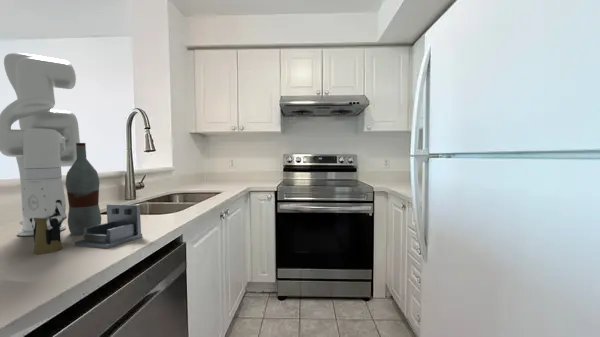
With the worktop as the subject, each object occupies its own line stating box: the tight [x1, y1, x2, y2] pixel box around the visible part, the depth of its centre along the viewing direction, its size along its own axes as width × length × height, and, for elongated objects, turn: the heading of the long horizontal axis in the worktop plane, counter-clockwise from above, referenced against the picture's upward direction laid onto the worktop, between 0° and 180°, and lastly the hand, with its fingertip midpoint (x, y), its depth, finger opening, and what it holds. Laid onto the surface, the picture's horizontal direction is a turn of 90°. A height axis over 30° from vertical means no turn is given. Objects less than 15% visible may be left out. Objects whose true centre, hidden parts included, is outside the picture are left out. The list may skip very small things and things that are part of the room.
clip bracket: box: [74, 203, 143, 249], centre depth 89 cm, size 12×12×10 cm
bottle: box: [65, 142, 102, 236], centre depth 101 cm, size 9×9×30 cm
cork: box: [33, 214, 63, 255], centre depth 81 cm, size 6×6×11 cm
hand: (47, 241), depth 81 cm, fingers closed on cork, 3 cm apart
